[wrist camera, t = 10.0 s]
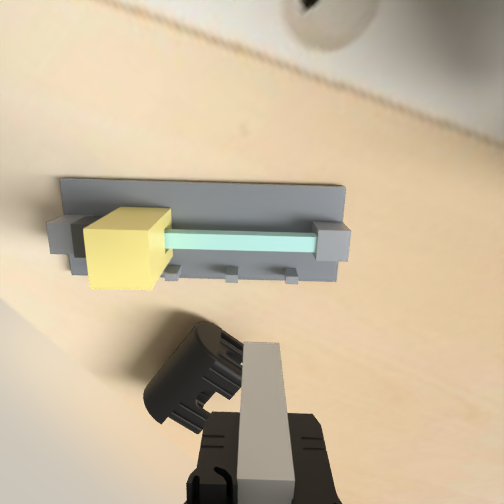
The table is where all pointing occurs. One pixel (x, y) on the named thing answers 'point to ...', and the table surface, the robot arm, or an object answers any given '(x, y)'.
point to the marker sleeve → (127, 248)
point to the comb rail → (219, 227)
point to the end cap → (195, 377)
